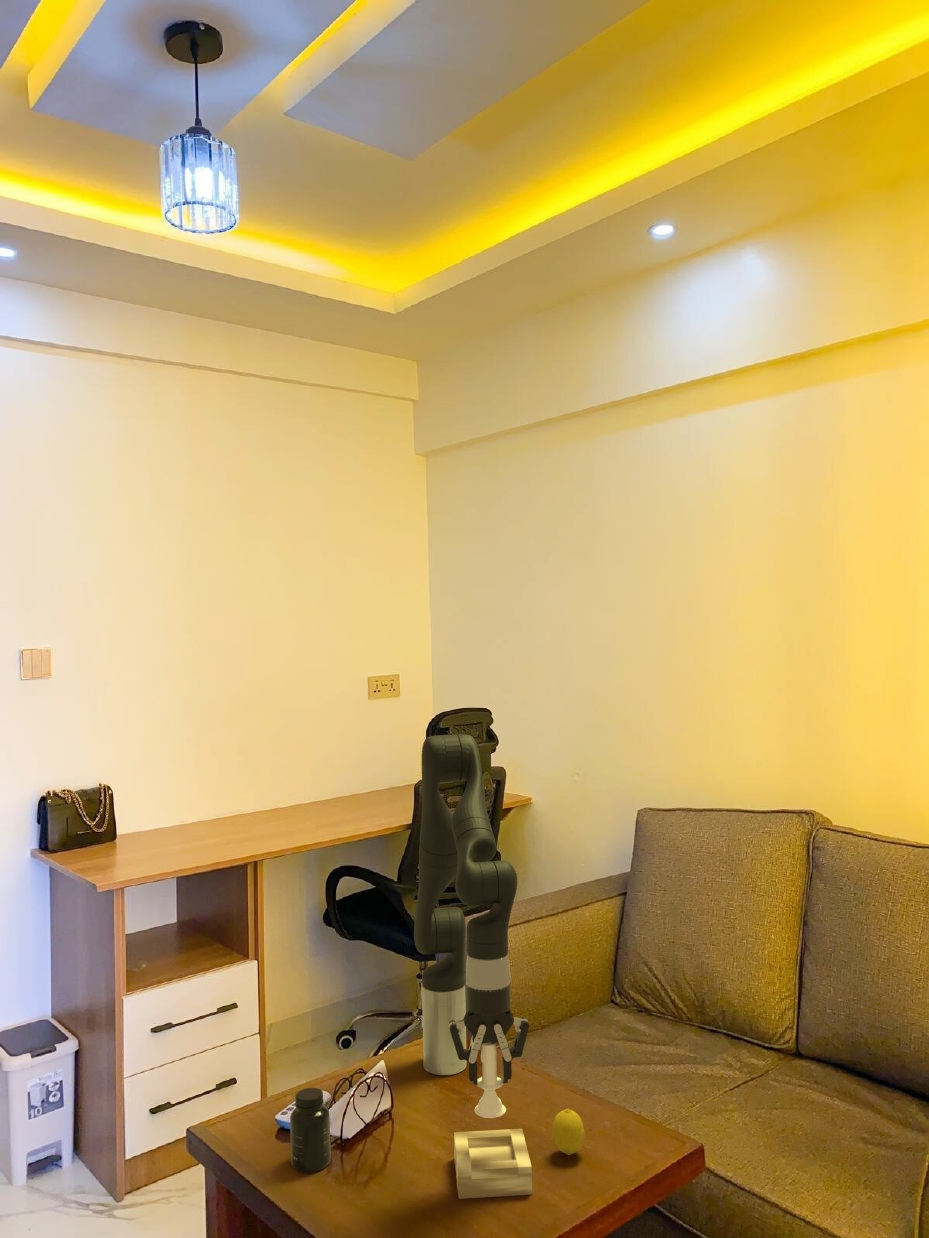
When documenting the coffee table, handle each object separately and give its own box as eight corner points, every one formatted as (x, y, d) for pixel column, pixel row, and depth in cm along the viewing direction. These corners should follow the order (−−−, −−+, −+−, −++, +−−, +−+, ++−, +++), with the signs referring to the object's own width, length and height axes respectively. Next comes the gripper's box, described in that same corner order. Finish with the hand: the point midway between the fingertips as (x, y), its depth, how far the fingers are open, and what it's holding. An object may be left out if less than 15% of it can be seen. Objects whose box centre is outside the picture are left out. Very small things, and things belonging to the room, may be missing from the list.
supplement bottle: (315, 1148, 169) (314, 1080, 169) (338, 1162, 164) (337, 1092, 164) (283, 1163, 164) (282, 1093, 164) (305, 1178, 159) (304, 1106, 160)
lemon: (549, 1160, 163) (548, 1114, 164) (557, 1144, 169) (556, 1099, 169) (580, 1166, 162) (579, 1119, 162) (587, 1149, 167) (586, 1103, 167)
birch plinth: (454, 1158, 165) (454, 1132, 165) (522, 1154, 166) (522, 1128, 166) (458, 1198, 153) (458, 1170, 153) (532, 1194, 154) (531, 1166, 154)
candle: (482, 1121, 156) (481, 1047, 156) (469, 1107, 161) (468, 1035, 161) (511, 1114, 158) (510, 1041, 158) (497, 1100, 163) (496, 1030, 163)
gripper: (526, 970, 164) (528, 1070, 164) (445, 974, 163) (446, 1074, 163) (532, 986, 157) (535, 1090, 156) (447, 990, 156) (449, 1094, 155)
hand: (490, 1081), depth 160 cm, fingers closed on candle, 4 cm apart
